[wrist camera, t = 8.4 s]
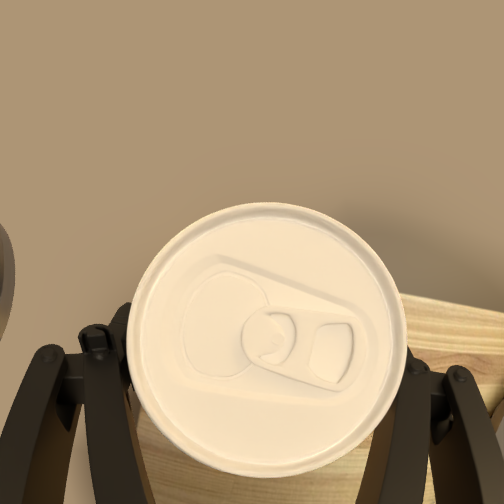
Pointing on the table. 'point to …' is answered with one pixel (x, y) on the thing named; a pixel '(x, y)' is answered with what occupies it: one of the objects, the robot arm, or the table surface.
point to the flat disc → (499, 425)
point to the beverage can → (266, 340)
